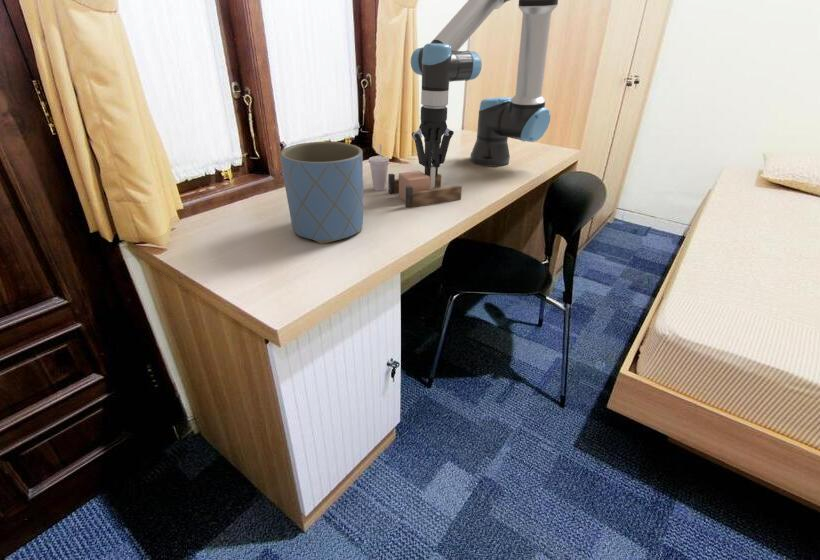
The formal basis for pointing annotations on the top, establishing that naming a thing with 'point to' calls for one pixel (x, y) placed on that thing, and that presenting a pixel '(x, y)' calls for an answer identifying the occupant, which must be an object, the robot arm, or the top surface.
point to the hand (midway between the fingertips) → (430, 187)
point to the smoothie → (379, 171)
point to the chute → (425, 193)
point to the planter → (324, 189)
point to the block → (413, 182)
